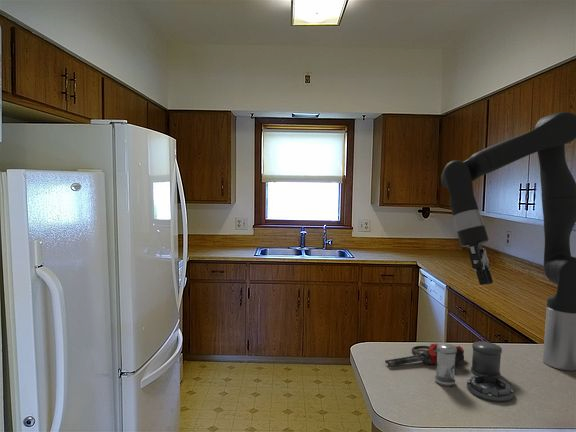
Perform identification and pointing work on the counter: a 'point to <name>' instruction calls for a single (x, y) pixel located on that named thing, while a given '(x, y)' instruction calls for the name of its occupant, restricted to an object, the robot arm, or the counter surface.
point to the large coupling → (486, 359)
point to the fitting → (445, 364)
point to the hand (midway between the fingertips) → (486, 284)
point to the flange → (490, 388)
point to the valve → (427, 356)
